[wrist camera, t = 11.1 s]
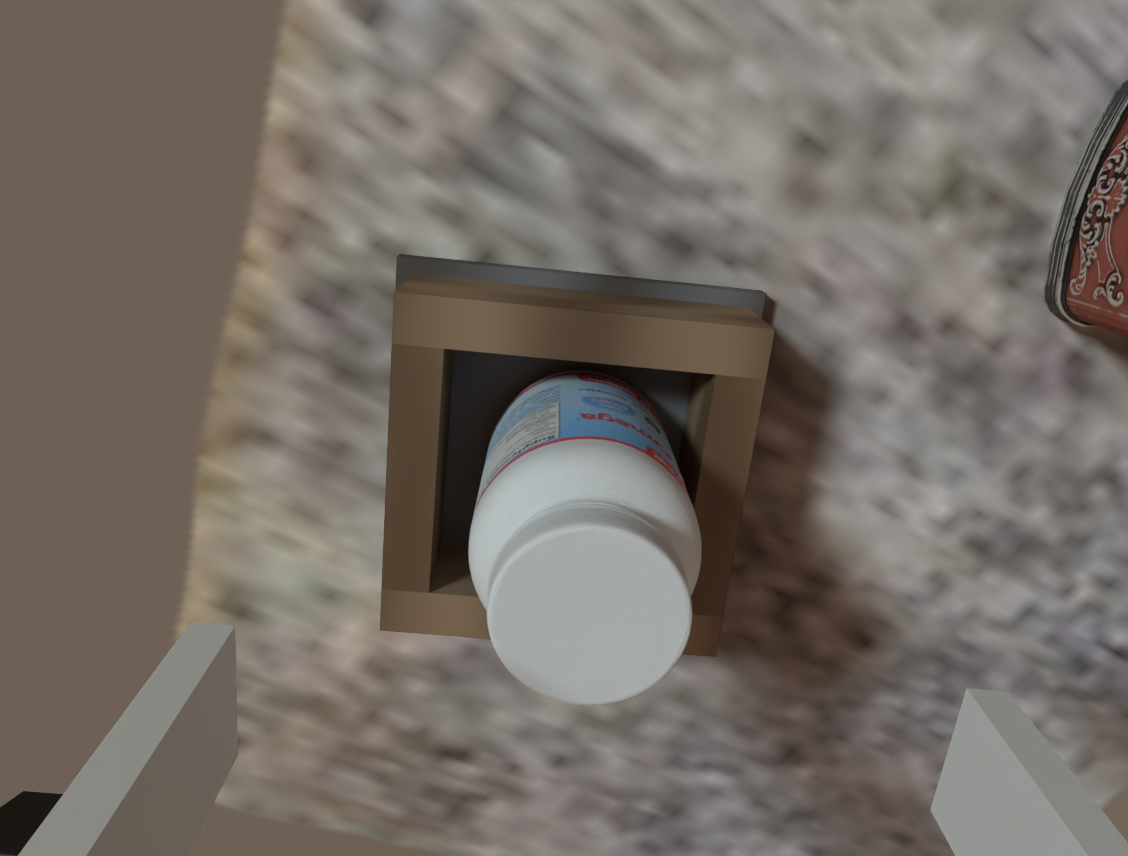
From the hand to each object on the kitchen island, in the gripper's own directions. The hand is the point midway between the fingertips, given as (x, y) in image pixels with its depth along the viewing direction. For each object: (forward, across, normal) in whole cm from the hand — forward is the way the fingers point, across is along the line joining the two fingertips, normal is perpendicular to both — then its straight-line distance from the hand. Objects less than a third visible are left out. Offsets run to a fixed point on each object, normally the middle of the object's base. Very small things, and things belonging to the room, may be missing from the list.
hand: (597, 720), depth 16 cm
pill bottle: (+15, 0, 0) cm, 15 cm away
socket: (+16, 0, 0) cm, 16 cm away
